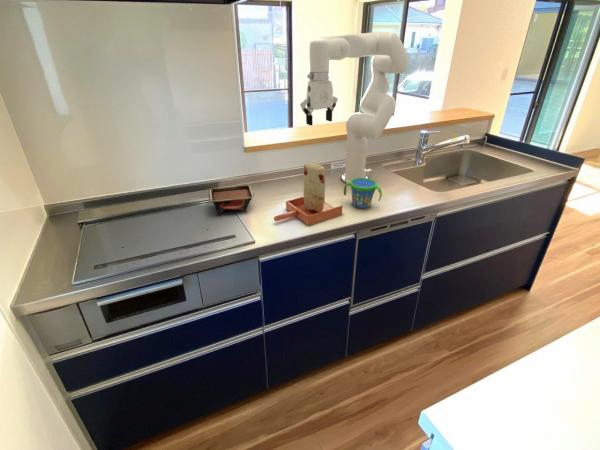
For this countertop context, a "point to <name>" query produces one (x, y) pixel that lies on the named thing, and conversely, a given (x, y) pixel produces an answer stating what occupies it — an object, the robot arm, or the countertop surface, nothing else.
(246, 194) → the baking dish
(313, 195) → the food model
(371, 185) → the snack cup
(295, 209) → the scoop
